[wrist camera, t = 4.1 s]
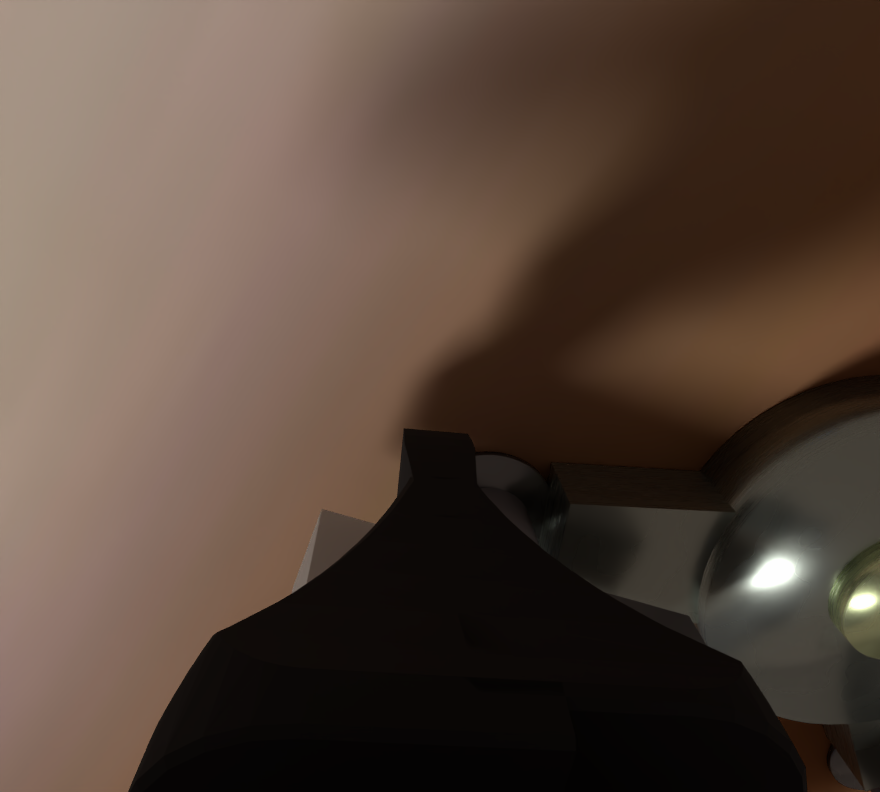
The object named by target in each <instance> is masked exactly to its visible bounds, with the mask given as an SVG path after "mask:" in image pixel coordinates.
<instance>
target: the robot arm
mask: <svg viewBox="0 0 880 792" xmlns="http://www.w3.org/2000/svg"><path fill="white" fill-rule="evenodd" d="M128 792H807V781H806V767H805V765H804V763H803V761H802V760H801V758H800V756H799V754H798V752H797V750H796V748H795V747H794V745H793V743H792V741H791V739H790V738H789V736H788V734H787V733H786V731H785V729H784V728H783V726H782V724H781V723H780V721H779V719H778V717H777V716H776V714H775V712H774V711H773V709H772V707H771V706H770V704H769V702H768V701H767V699H766V698H765V696H764V695H763V693H762V691H761V690H760V688H759V687H758V685H757V684H756V682H755V681H754V679H753V678H752V676H751V675H750V673H749V672H748V671H747V669H746V668H745V667H744V665H743V664H742V662H741V661H739V660H737V659H735V658H733V657H731V656H728V655H726V654H724V653H722V652H720V651H718V650H715V649H713V648H711V647H709V646H707V645H705V644H702V643H700V642H698V641H696V640H694V639H692V638H689V637H687V636H685V635H683V634H681V633H679V632H676V631H674V630H672V629H670V628H668V627H666V626H664V625H662V624H660V623H658V622H656V621H654V620H652V619H650V618H649V617H647V616H645V615H643V614H641V613H640V612H638V611H636V610H634V609H632V608H631V607H629V606H627V605H625V604H623V603H622V602H620V601H618V600H616V599H615V598H613V597H611V596H610V595H608V594H607V593H605V592H603V591H602V590H600V589H598V588H597V587H595V586H594V585H592V584H591V583H589V582H588V581H586V580H585V579H583V578H582V577H580V576H579V575H578V574H576V573H575V572H573V571H572V570H570V569H569V568H567V567H566V566H564V565H563V564H562V563H560V562H559V561H558V560H556V559H555V558H554V557H552V556H551V555H550V554H548V553H547V552H546V551H545V550H543V549H542V548H541V547H540V546H539V545H537V544H536V543H535V542H534V541H533V540H532V539H530V538H529V537H528V536H527V535H526V534H525V533H523V532H522V531H521V530H520V529H519V528H518V527H517V526H516V525H514V524H513V523H512V522H511V521H510V520H509V519H508V518H507V517H506V516H505V515H504V514H503V513H502V512H501V511H500V510H499V508H498V507H497V506H496V505H495V504H494V503H493V502H492V501H491V500H490V499H489V498H488V497H487V496H486V494H485V493H484V492H483V491H482V489H481V488H480V487H479V486H478V484H477V473H476V456H475V447H474V445H473V442H472V440H471V439H470V437H469V435H468V434H463V433H451V432H439V431H427V430H415V429H404V433H403V443H402V453H401V463H400V473H399V483H398V493H397V498H396V499H395V501H394V502H393V503H392V505H391V506H390V508H389V509H388V510H387V511H386V513H385V514H384V515H383V516H382V517H381V519H380V520H379V521H378V522H377V523H376V524H375V525H374V526H373V527H372V529H371V530H370V531H369V532H368V533H367V534H366V535H365V536H364V537H363V538H362V539H361V540H360V541H359V542H358V543H357V544H355V545H354V546H353V547H352V548H351V549H350V550H349V551H348V552H347V553H345V554H344V555H343V556H342V557H341V558H340V559H339V560H338V561H336V562H335V563H334V564H333V565H331V566H330V567H329V568H328V569H326V570H325V571H324V572H323V573H321V574H320V575H318V576H317V577H315V578H314V579H312V580H311V581H309V582H308V583H307V584H305V585H304V586H302V587H301V588H299V589H298V590H296V591H295V592H294V593H292V594H291V595H289V596H287V597H286V598H284V599H282V600H280V601H279V602H277V603H275V604H273V605H271V606H269V607H267V608H265V609H263V610H261V611H259V612H257V613H256V614H254V615H252V616H250V617H248V618H246V619H244V620H242V621H240V622H238V623H236V624H234V625H232V626H230V627H228V628H226V629H223V630H221V631H219V632H217V633H216V634H214V635H213V636H212V638H211V639H210V640H209V642H208V643H207V645H206V646H205V647H204V649H203V650H202V652H201V653H200V655H199V656H198V658H197V659H196V661H195V662H194V664H193V665H192V667H191V668H190V670H189V671H188V673H187V674H186V676H185V678H184V679H183V681H182V683H181V684H180V686H179V688H178V689H177V691H176V693H175V694H174V696H173V698H172V699H171V701H170V703H169V704H168V706H167V708H166V710H165V712H164V713H163V715H162V717H161V719H160V721H159V722H158V724H157V726H156V729H155V731H154V733H153V735H152V737H151V739H150V741H149V744H148V746H147V748H146V751H145V753H144V756H143V758H142V760H141V763H140V765H139V767H138V770H137V772H136V774H135V777H134V779H133V781H132V784H131V786H130V789H129V791H128Z"/></svg>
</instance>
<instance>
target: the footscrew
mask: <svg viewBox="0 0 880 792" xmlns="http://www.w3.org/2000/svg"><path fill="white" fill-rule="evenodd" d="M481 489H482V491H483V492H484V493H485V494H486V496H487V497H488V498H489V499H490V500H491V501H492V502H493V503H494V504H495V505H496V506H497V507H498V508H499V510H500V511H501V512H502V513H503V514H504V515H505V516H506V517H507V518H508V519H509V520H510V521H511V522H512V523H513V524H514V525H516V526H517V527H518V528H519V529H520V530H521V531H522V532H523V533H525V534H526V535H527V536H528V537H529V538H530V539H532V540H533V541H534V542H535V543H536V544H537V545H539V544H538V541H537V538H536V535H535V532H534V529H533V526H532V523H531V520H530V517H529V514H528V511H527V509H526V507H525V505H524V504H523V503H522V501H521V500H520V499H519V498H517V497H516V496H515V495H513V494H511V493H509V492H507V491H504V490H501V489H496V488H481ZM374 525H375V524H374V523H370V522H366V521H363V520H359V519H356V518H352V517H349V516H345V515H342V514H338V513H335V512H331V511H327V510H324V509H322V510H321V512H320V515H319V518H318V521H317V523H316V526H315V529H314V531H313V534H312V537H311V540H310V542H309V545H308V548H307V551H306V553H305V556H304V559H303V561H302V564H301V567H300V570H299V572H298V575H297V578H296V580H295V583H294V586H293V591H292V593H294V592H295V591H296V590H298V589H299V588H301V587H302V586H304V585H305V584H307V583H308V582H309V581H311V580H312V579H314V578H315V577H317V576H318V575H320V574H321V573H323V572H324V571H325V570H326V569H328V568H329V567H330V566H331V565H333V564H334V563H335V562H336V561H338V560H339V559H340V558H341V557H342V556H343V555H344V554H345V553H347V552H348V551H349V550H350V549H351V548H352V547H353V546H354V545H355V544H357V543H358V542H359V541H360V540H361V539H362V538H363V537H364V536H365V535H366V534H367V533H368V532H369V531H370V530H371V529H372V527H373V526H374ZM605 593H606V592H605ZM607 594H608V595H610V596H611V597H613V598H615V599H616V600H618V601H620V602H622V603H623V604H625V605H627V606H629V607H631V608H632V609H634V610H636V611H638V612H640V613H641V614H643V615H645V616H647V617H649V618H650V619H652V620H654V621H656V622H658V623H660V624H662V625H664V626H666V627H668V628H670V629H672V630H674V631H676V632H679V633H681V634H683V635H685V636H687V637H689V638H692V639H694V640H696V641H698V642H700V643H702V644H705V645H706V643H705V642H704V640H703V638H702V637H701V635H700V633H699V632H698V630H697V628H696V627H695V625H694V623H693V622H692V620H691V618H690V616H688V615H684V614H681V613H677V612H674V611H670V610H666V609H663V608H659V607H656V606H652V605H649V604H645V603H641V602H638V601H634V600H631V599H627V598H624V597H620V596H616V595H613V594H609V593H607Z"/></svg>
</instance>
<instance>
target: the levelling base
mask: <svg viewBox="0 0 880 792" xmlns="http://www.w3.org/2000/svg"><path fill="white" fill-rule="evenodd" d="M475 456H476V473H477V484H478V486H479V487H480V488H496V489H501V490H504V491H507V492H509V493H511V494H513V495H515V496H516V497H517V498H519V499H520V500H521V501H522V503H523V504H524V505H525V507H526V509H527V511H528V514H529V517H530V520H531V523H532V526H533V529H534V532H535V535H536V538H537V541H538V544H539V546H540V547H541V548H542V549H543V550H545V551H546V552H547V553H548V554H550V555H551V556H552V557H554V558H555V559H556V560H558V561H559V562H560V563H562V564H563V565H564V566H566V567H567V568H569V569H570V570H572V571H573V572H575V573H576V574H578V575H579V576H580V577H582V578H583V579H585V580H586V581H588V582H589V583H591V584H592V585H594V586H595V587H597V588H598V589H600V590H602V591H603V592H606V593H609V594H613V595H616V596H620V597H624V598H627V599H631V600H634V601H638V602H641V603H645V604H649V605H652V606H656V607H659V608H663V609H666V610H670V611H674V612H677V613H681V614H684V615H688V616H690V618H691V620H692V622H693V623H694V625H695V627H696V628H697V630H698V632H699V633H700V635H701V637H702V638H703V640H704V642H705V643H706V645H707V646H709V647H711V648H713V649H715V650H718V651H720V652H722V653H724V654H726V655H728V656H731V657H733V658H735V659H737V660H739V661H741V662H742V664H743V665H744V667H745V668H746V669H747V671H748V672H749V673H750V675H751V676H752V678H753V679H754V681H755V682H756V684H757V685H758V687H759V688H760V690H761V691H762V693H763V695H764V696H765V698H766V699H767V701H768V702H769V704H770V706H771V707H772V709H773V711H774V712H775V714H776V716H779V717H782V718H785V719H789V720H794V721H799V722H805V723H814V724H823V726H824V729H825V733H826V736H827V738H828V739H829V740H830V742H831V743H832V745H831V747H830V749H829V752H828V756H827V763H828V767H829V770H830V771H831V773H832V774H833V776H834V777H835V779H836V780H837V781H838V782H839V783H841V784H842V785H844V786H846V787H849V788H853V789H858V790H865V791H868V790H871V789H874V788H877V787H880V375H873V376H864V377H855V378H850V379H846V380H842V381H837V382H833V383H829V384H826V385H823V386H820V387H817V388H814V389H812V390H809V391H806V392H803V393H801V394H799V395H797V396H795V397H793V398H791V399H788V400H786V401H784V402H782V403H780V404H778V405H777V406H775V407H773V408H772V409H770V410H768V411H767V412H765V413H763V414H762V415H760V416H758V417H757V418H756V419H754V420H753V421H752V422H750V423H749V424H748V425H746V426H745V427H744V428H742V429H741V430H740V431H738V432H737V433H736V434H735V435H734V436H733V437H732V438H731V439H730V440H728V441H727V442H726V443H725V444H724V445H723V446H722V447H721V448H720V449H719V450H718V451H717V452H716V453H715V454H714V456H713V457H712V458H711V459H710V460H709V461H708V462H707V463H706V465H705V466H704V467H703V468H702V470H701V471H689V470H671V469H654V468H637V467H620V466H602V465H585V464H568V463H552V464H551V469H550V474H549V479H548V484H547V482H546V480H545V479H544V478H543V476H542V475H541V474H540V473H539V472H538V471H537V470H536V469H535V468H534V467H533V466H531V465H530V464H528V463H527V462H525V461H523V460H521V459H520V458H517V457H514V456H512V455H508V454H504V453H498V452H476V453H475Z"/></svg>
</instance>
